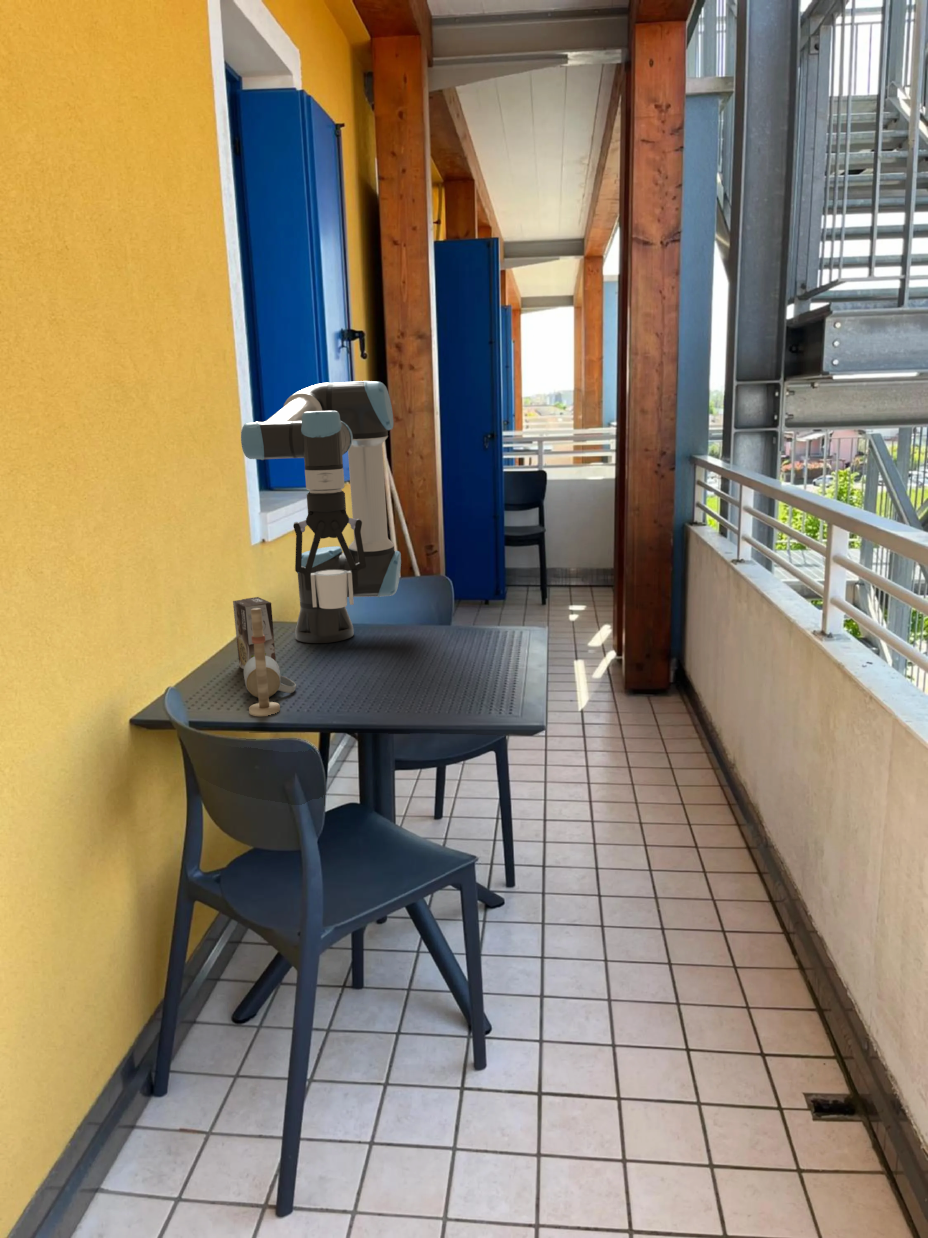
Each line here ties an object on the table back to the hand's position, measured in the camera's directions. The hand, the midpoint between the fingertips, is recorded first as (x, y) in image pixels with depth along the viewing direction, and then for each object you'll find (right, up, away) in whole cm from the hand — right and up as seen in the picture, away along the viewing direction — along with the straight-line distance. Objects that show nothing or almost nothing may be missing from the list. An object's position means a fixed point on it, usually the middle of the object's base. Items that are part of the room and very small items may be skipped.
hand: (333, 604), depth 185 cm
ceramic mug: (-15, -19, +9) cm, 26 cm away
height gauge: (-13, -22, -2) cm, 25 cm away
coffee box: (-22, -15, +28) cm, 38 cm away
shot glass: (0, 0, 0) cm, 1 cm away
